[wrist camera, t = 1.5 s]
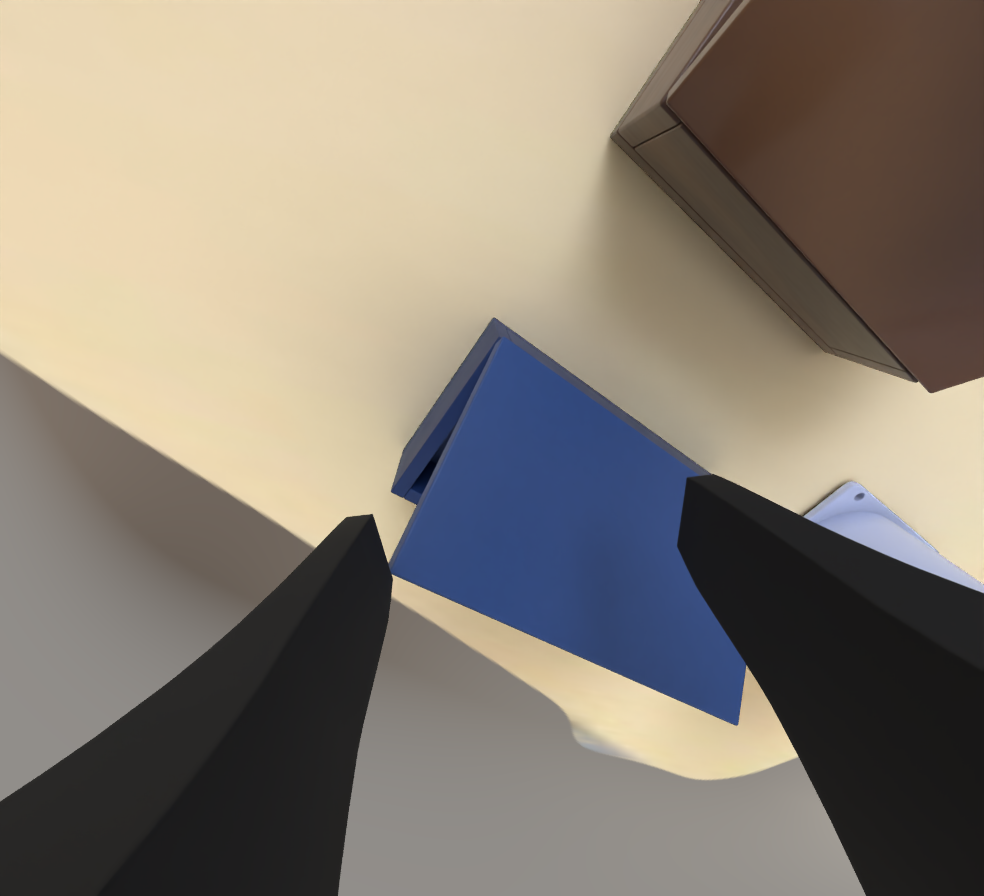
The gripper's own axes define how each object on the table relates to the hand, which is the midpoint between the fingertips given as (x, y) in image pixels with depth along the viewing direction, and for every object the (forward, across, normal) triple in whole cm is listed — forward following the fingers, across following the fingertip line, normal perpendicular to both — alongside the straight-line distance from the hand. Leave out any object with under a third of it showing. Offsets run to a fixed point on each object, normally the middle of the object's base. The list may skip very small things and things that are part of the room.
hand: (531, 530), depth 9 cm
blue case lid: (+4, -3, +4) cm, 6 cm away
